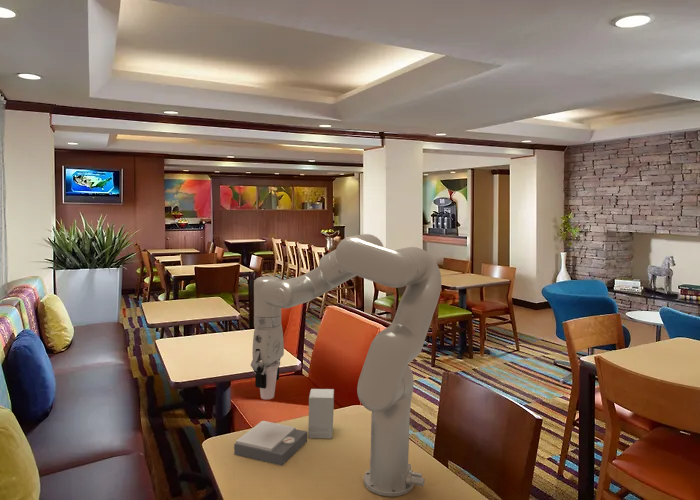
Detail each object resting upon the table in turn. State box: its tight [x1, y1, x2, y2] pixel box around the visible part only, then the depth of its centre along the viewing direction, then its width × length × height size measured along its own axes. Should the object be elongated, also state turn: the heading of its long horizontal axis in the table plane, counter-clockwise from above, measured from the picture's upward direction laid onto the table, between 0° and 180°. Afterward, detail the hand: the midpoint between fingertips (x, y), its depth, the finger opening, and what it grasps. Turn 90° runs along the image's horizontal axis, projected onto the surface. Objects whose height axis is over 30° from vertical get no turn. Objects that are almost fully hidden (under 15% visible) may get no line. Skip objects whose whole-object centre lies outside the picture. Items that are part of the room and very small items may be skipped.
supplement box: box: [307, 388, 335, 439], centre depth 154 cm, size 7×7×13 cm
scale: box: [233, 420, 308, 467], centre depth 145 cm, size 15×15×4 cm
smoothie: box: [259, 360, 280, 400], centre depth 143 cm, size 6×6×14 cm
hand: (267, 382), depth 143 cm, fingers closed on smoothie, 6 cm apart
